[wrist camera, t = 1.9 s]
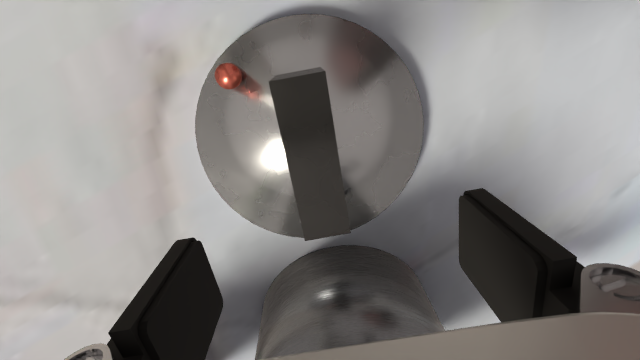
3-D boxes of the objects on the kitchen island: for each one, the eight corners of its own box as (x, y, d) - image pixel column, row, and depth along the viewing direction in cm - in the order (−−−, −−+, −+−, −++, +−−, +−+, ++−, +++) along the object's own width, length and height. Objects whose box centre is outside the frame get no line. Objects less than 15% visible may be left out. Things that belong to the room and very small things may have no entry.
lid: (166, 41, 20) (112, 36, 14) (412, -6, 20) (456, -30, 14) (236, 244, 27) (217, 297, 21) (421, 211, 26) (454, 255, 21)
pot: (240, 261, 27) (203, 386, 17) (522, 211, 26) (659, 310, 16) (281, 379, 33) (272, 522, 23) (508, 341, 33) (600, 470, 23)
